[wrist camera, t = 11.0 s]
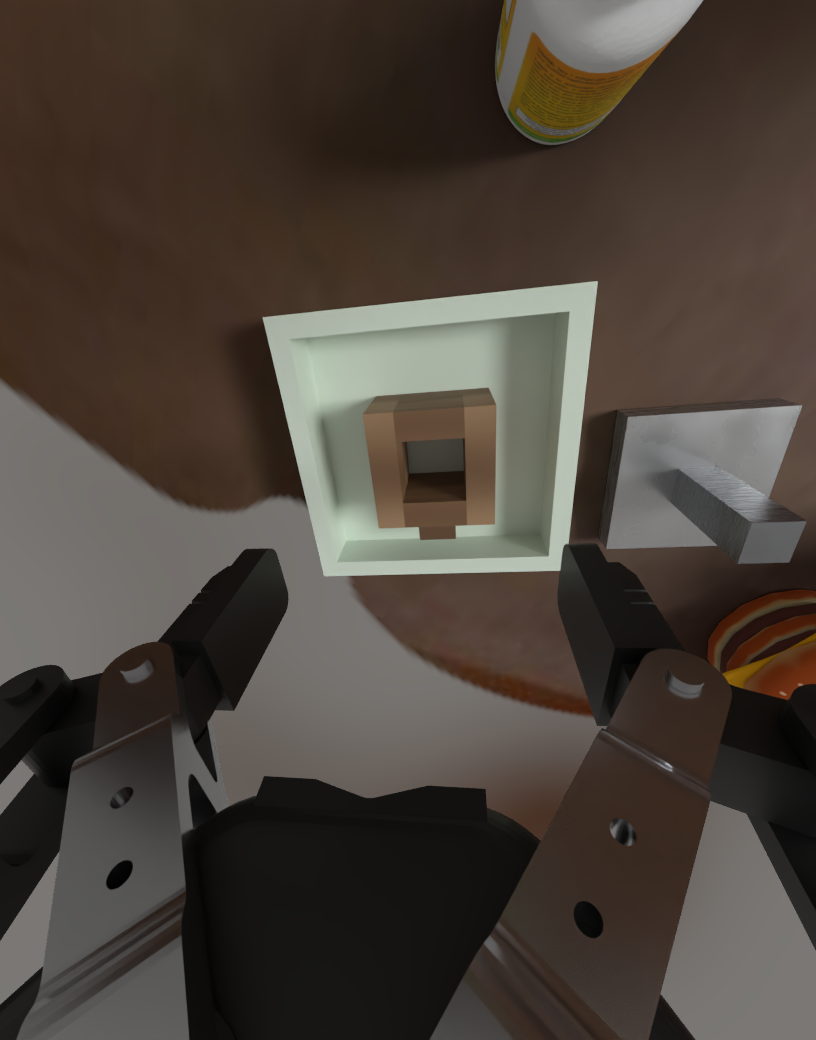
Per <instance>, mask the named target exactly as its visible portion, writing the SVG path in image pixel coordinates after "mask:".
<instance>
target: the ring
mask: <svg viewBox="0 0 816 1040" xmlns="http://www.w3.org/2000/svg"><path fill="white" fill-rule="evenodd" d="M362 415H363V422H364V429H365V436H366V442H367V449H368V456H369V463H370V470H371V477H372V484H373V491H374V498H375V505H376V512H377V519H378V526H379V528H407V527H419V535H420V540H438V539H456V526H464V525H492V524H495V479H496V403H495V401H494V398H493V396H492V394H491V392H490V390H489V388H476V389H463V390H450V391H437V392H424V393H411V394H397V395H384V396H376V397H375V398H374V400H373V401H372V402H371V404H370V405H369V406H368V408H367V409H366V410H365V412H364V413H363V414H362ZM458 438H463V458H464V471H451V472H432V473H413V474H409V464H408V454H407V443H406V442H409V441H426V440H442V439H458Z"/></svg>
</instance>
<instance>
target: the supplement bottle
mask: <svg viewBox="0 0 816 1040" xmlns="http://www.w3.org/2000/svg"><path fill="white" fill-rule="evenodd" d="M702 2H703V0H504V4H503V9H502V15H501V20H500V25H499V31H498V37H497V45H496V56H495V75H496V85H497V90H498V94H499V98H500V101H501V104H502V107H503V109H504V111H505V113H506V115H507V117H508V119H509V120H510V122H511V123H512V124H513V126H514V127H515V128H516V129H517V130H518V131H519V132H520V133H522V134H523V135H524V136H525V137H527V138H529V139H530V140H532V141H534V142H537V143H541V144H546V145H558V144H563V143H567V142H570V141H573V140H576V139H578V138H580V137H582V136H583V135H585V134H587V133H588V132H590V131H591V130H592V129H594V128H595V127H596V126H597V125H598V124H599V123H600V122H602V121H603V120H604V119H605V118H606V117H607V116H608V115H609V113H610V112H611V111H612V110H613V109H614V108H615V107H616V106H617V104H618V103H619V102H620V101H621V100H622V98H623V97H624V96H625V95H626V94H627V92H628V91H629V90H630V89H631V88H632V86H633V85H634V84H635V83H636V82H637V80H638V79H639V78H640V77H641V76H642V75H643V73H644V72H645V71H646V70H647V69H648V67H649V66H650V65H651V64H652V63H653V61H654V60H655V59H656V58H657V57H658V56H659V55H660V53H661V52H662V51H663V50H664V49H665V48H666V46H667V45H668V44H669V43H670V42H671V41H672V39H673V38H674V37H675V36H676V35H677V34H678V32H679V31H680V30H681V29H682V28H683V26H684V25H685V24H686V23H687V22H688V21H689V19H690V18H691V16H692V15H693V14H694V12H695V11H696V10H697V8H698V7H699V6H700V4H701V3H702Z"/></svg>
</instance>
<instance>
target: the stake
mask: <svg viewBox="0 0 816 1040" xmlns="http://www.w3.org/2000/svg"><path fill="white" fill-rule="evenodd" d="M801 408H802V405H800V404H797V403H793V402H790V401H787V400H783V399H767V400H752V401H738V402H724V403H710V404H695V405H681V406H667V407H653V408H638V409H624V410H617V416H616V422H615V429H614V435H613V442H612V449H611V455H610V462H609V468H608V475H607V482H606V488H605V495H604V501H603V508H602V515H601V521H600V528H599V534H598V537H599V538H600V540H601V541H602V543H603V545H604V546H605V548H606V549H624V548H658V547H691V546H719V547H720V548H721V549H722V550H723V551H724V552H725V553H726V554H727V555H728V556H730V557H731V558H732V559H733V560H734V561H735V562H736V563H737V564H749V563H789V562H790V559H791V557H792V555H793V552H794V550H795V548H796V545H797V543H798V541H799V538H800V536H801V534H802V531H803V529H804V527H805V524H806V522H807V521H806V520H804V519H803V518H801V517H799V516H798V515H796V514H794V513H793V512H791V511H790V510H788V509H786V508H785V507H783V506H782V505H780V504H778V503H777V502H775V501H773V500H772V499H770V498H769V495H770V493H771V490H772V487H773V484H774V482H775V479H776V476H777V473H778V471H779V468H780V465H781V462H782V460H783V457H784V454H785V452H786V449H787V446H788V443H789V441H790V438H791V435H792V432H793V430H794V427H795V424H796V422H797V419H798V416H799V413H800V411H801Z"/></svg>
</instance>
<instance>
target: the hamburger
mask: <svg viewBox="0 0 816 1040" xmlns="http://www.w3.org/2000/svg"><path fill="white" fill-rule="evenodd" d="M707 657H708V661H709V662H710V664H711V665H713V666H714V667H715V668H716V669H717V670H718V671H720V672H721V674H722V675H723V676H724V677H725V678H726V680H727V681H728V683H729V684H731V685H733V686H736V687H739V688H743V689H747V690H750V691H754V692H758V693H762V694H766V695H770V696H774V697H778V698H782V699H786V700H788V699H789V698H790V696H791V694H792V693H793V691H794V690H795V689H796V688H797V687H799V686H802V685H806V684H816V591H813V590H806V589H797V590H790V591H784V592H777V593H770V594H767V595H765V596H762V597H760V598H757V599H755V600H752V601H750V602H748V603H745V604H743V605H741V606H740V607H739V608H737V609H736V610H735V611H733V612H732V613H731V614H729V615H728V616H727V617H725V618H724V619H723V620H721V621H720V622H719V624H718V625H717V627H716V628H715V630H714V631H713V633H712V634H711V636H710V637H709V640H708V654H707Z"/></svg>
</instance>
